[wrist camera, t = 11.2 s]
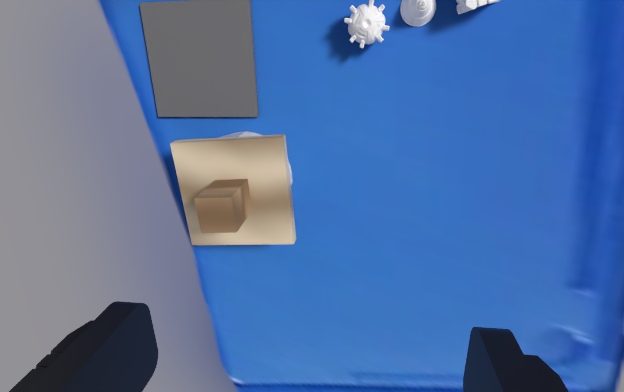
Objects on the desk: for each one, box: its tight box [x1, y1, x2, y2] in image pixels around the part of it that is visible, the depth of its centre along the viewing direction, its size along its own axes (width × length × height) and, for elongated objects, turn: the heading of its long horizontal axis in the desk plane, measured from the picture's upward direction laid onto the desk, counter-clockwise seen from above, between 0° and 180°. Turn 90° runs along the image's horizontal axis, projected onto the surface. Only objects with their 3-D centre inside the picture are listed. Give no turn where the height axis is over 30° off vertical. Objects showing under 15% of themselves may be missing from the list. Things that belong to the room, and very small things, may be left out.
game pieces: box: [344, 0, 500, 48], centre depth 30 cm, size 12×3×3 cm, turn 108°
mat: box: [139, 0, 259, 117], centre depth 35 cm, size 10×10×1 cm
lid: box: [170, 134, 296, 245], centre depth 32 cm, size 10×10×6 cm
